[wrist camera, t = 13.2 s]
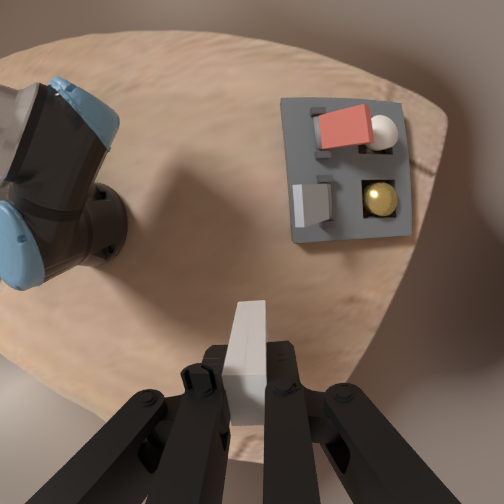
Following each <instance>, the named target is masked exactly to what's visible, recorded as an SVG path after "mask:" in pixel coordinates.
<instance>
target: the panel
mask: <svg viewBox="0 0 504 504" xmlns="http://www.w3.org/2000/svg"><path fill="white" fill-rule="evenodd" d="M362 104H366V105H368V106H369V108H370V114H371V118H373V117H374V116H377V115H383V116H386V117H388V118H390V119H391V120H392V121H393V122H394V124H395V125H396V127H397V130H398V139H397V142H396V143H395V145H394V146H392V147H390V148H387V149H385V154H359V149H358V145H355V146H348V147H341V148H334V149H325V150H317V149H316V139H315V130H314V122H313V117H317V116H319V115H322V114H326V113H330V112H333V111H337V110H341V109H345V108H349V107H353V106H357V105H362ZM280 107H281V116H282V126H283V135H284V146H285V156H286V167H287V179H288V192H289V205H290V220H291V235H292V241H293V243H306V242H320V241H334V240H348V239H362V238H377V237H392V236H406V235H412V205H411V181H410V167H409V155H408V146H407V138H406V130H405V123H404V117H403V111H402V105H401V103H395V102H386V101H377V100H365V99H349V98H281V102H280ZM361 180H387V183H388V184H389V185H391V186H392V187H393V188H394V189H395V191H396V193H397V198H398V202H397V206H396V208H395V210H394V211H393V212H392V213H391V214H390V215H389V216H368V217H363V204H362V185H361ZM302 184H327V185H328V184H331V198H332V217H333V218H329V219H328V220H325V221H322V222H319V223H316V224H313V225H310V226H307V227H295V213H294V198H293V185H302Z"/></svg>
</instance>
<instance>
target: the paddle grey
mask: <svg viewBox="0 0 504 504" xmlns="http://www.w3.org/2000/svg"><path fill="white" fill-rule="evenodd" d="M293 198H294V213H295V227H307V226H310V225H313V224H316V223H319V222H322V221H325V220H328V219H329V218H333V217H332V198H331V184H328V185H327V184H302V185H293Z"/></svg>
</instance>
